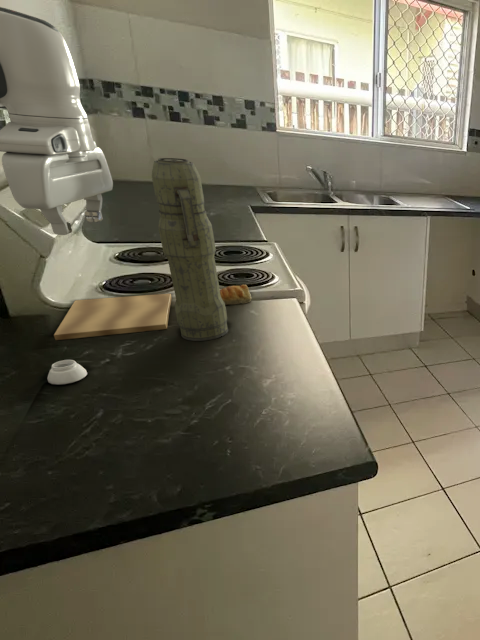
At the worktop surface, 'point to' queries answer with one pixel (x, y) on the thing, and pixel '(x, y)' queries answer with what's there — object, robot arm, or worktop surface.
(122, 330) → the board
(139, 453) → the worktop surface
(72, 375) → the white bowl
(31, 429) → the worktop surface
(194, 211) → the beige stone tall figure
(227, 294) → the pastry
